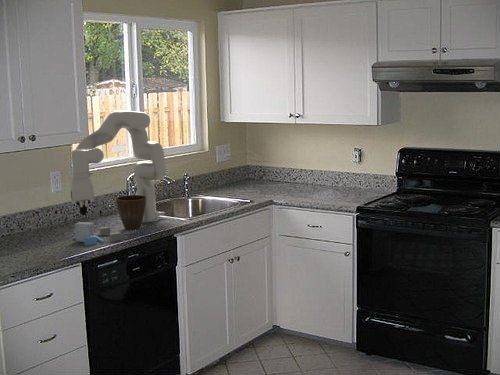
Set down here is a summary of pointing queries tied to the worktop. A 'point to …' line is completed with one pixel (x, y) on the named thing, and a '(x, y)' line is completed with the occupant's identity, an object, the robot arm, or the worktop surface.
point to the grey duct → (112, 234)
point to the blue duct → (91, 240)
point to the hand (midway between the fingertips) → (83, 214)
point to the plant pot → (131, 210)
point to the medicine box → (83, 230)
